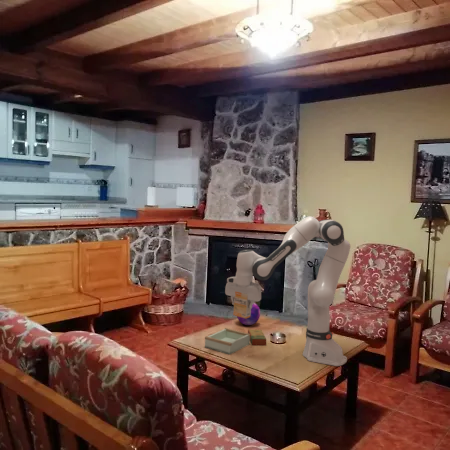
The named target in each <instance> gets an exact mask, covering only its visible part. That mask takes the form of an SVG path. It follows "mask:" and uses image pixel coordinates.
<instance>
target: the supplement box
mask: <svg viewBox="0 0 450 450" xmlns="http://www.w3.org/2000/svg"><path fill="white" fill-rule="evenodd" d="M250 304H251V302H250V300H248V294H245V293H241V292H235V298H234V305H233V312H232V315H233V316H235V317H237V316H238V317H242V318H245V319H246V318H249V317H250V315H251V309H249V308H248V305H250Z"/></svg>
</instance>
